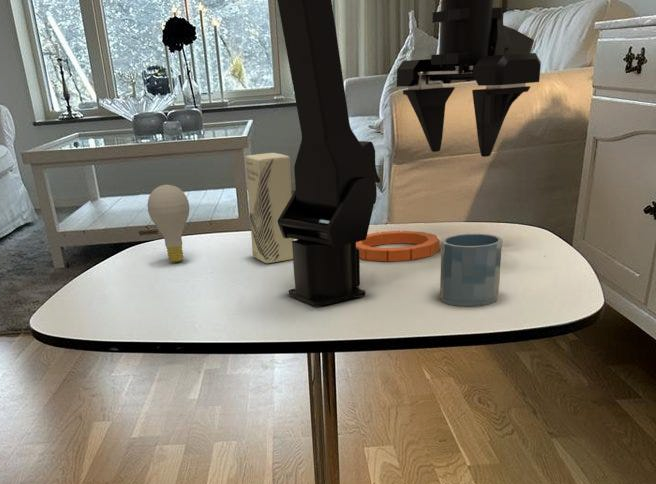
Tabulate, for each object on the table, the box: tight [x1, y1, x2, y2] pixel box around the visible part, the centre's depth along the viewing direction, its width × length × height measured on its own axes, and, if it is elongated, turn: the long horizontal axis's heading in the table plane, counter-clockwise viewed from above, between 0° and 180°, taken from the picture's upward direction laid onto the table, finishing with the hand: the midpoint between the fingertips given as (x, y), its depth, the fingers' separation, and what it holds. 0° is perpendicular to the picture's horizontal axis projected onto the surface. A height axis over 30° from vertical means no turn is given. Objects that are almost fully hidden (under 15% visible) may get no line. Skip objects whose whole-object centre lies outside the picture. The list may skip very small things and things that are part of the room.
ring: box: [356, 230, 440, 263], centre depth 99 cm, size 11×11×1 cm
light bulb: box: [146, 184, 190, 264], centre depth 100 cm, size 6×5×10 cm
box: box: [244, 152, 295, 264], centre depth 97 cm, size 5×4×13 cm
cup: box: [439, 233, 503, 307], centre depth 78 cm, size 6×6×6 cm
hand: (459, 153), depth 89 cm, fingers open, 9 cm apart
